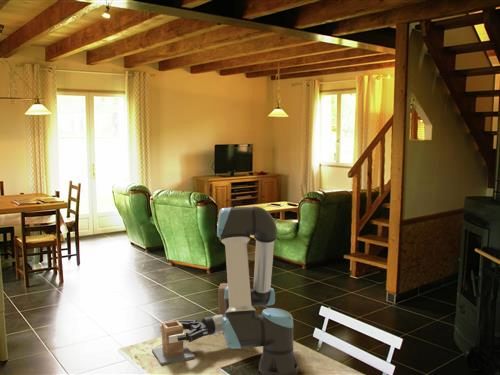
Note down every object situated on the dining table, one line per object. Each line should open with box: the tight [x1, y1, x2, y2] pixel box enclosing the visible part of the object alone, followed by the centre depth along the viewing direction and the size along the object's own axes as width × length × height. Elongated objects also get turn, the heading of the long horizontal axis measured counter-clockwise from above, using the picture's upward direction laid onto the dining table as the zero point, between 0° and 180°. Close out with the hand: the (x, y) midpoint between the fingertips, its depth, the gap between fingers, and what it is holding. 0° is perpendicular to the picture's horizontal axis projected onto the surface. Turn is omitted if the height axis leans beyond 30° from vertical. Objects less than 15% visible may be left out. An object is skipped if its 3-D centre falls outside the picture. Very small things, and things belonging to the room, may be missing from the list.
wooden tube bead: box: [161, 319, 184, 357], centre depth 201 cm, size 7×7×12 cm
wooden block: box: [217, 282, 228, 315], centre depth 232 cm, size 10×10×20 cm
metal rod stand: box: [151, 342, 196, 366], centre depth 201 cm, size 15×14×11 cm
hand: (164, 334), depth 199 cm, fingers open, 13 cm apart
